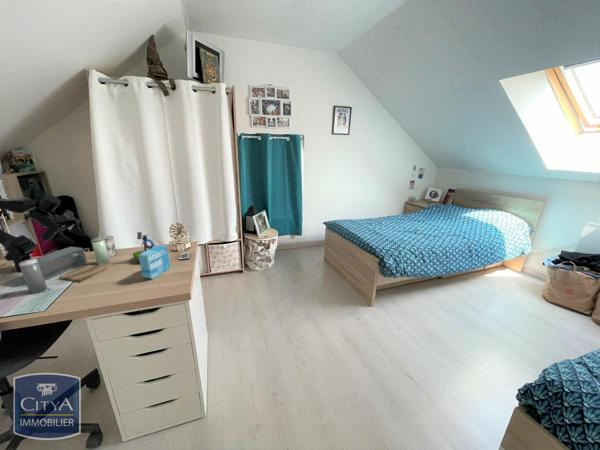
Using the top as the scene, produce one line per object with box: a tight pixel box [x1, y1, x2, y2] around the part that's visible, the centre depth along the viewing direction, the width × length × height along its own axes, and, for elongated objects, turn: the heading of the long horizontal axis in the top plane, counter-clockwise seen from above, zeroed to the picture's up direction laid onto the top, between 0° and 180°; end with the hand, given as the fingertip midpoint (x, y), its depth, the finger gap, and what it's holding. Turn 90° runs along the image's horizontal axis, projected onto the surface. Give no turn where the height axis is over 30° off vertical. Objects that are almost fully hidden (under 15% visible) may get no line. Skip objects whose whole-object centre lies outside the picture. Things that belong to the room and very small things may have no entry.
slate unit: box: [35, 246, 88, 282], centre depth 115 cm, size 9×20×8 cm, turn 167°
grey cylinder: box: [19, 258, 48, 295], centre depth 99 cm, size 5×5×13 cm
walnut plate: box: [58, 264, 108, 283], centre depth 114 cm, size 12×12×1 cm
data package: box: [138, 245, 171, 280], centre depth 114 cm, size 12×4×12 cm, turn 167°
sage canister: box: [90, 236, 110, 266], centre depth 123 cm, size 5×5×13 cm
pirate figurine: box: [132, 231, 155, 260], centre depth 128 cm, size 14×13×15 cm
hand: (79, 239), depth 119 cm, fingers open, 9 cm apart
